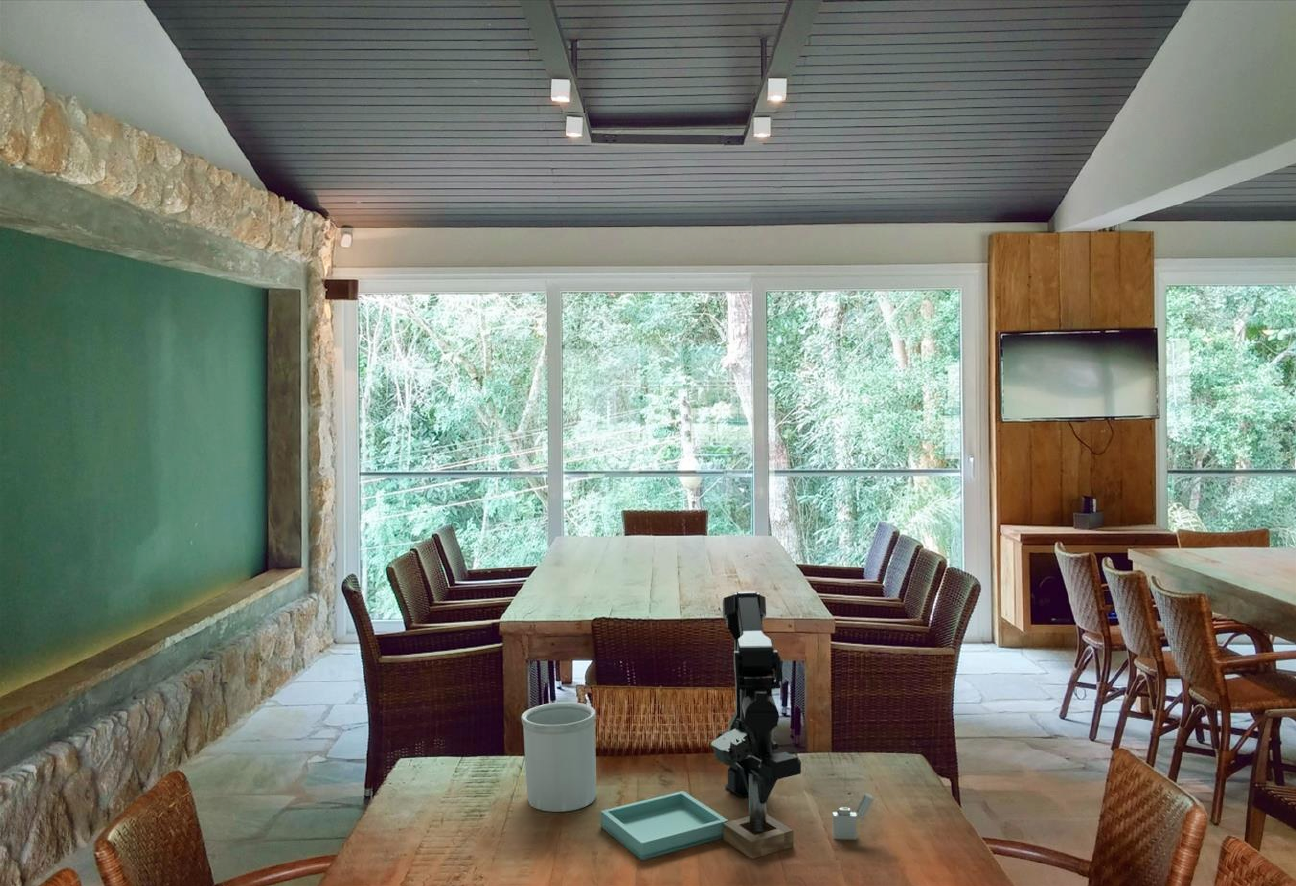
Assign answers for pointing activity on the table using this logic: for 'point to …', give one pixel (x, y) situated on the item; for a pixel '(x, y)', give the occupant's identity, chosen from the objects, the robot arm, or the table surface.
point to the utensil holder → (560, 756)
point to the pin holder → (758, 837)
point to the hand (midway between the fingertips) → (757, 800)
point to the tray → (663, 824)
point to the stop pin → (756, 806)
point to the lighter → (849, 819)
